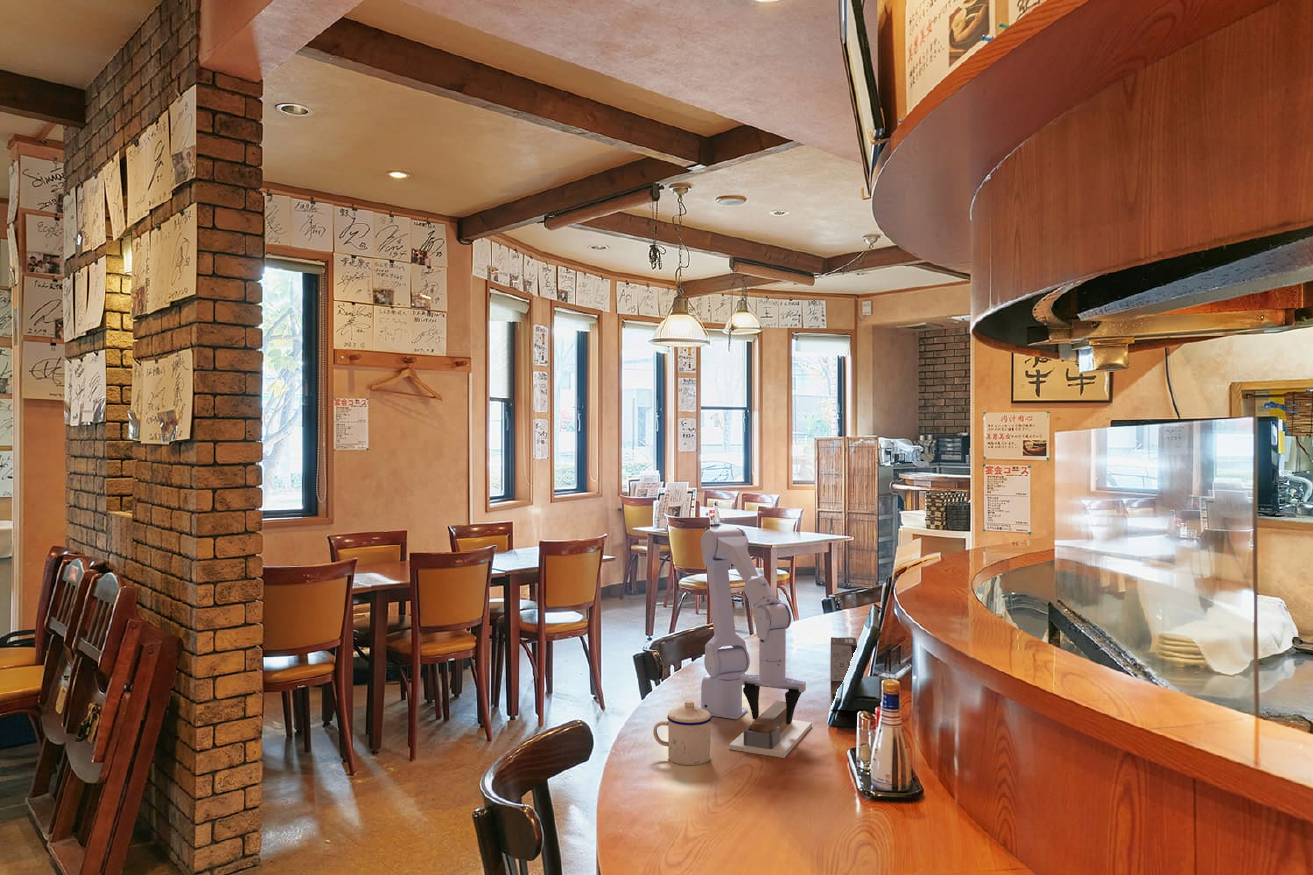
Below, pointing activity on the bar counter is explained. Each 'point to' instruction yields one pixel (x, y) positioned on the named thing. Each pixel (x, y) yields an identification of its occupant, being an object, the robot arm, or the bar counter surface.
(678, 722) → the teacup with lid
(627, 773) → the bar counter surface
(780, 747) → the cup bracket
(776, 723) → the rail
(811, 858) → the bar counter surface
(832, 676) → the coffee box
